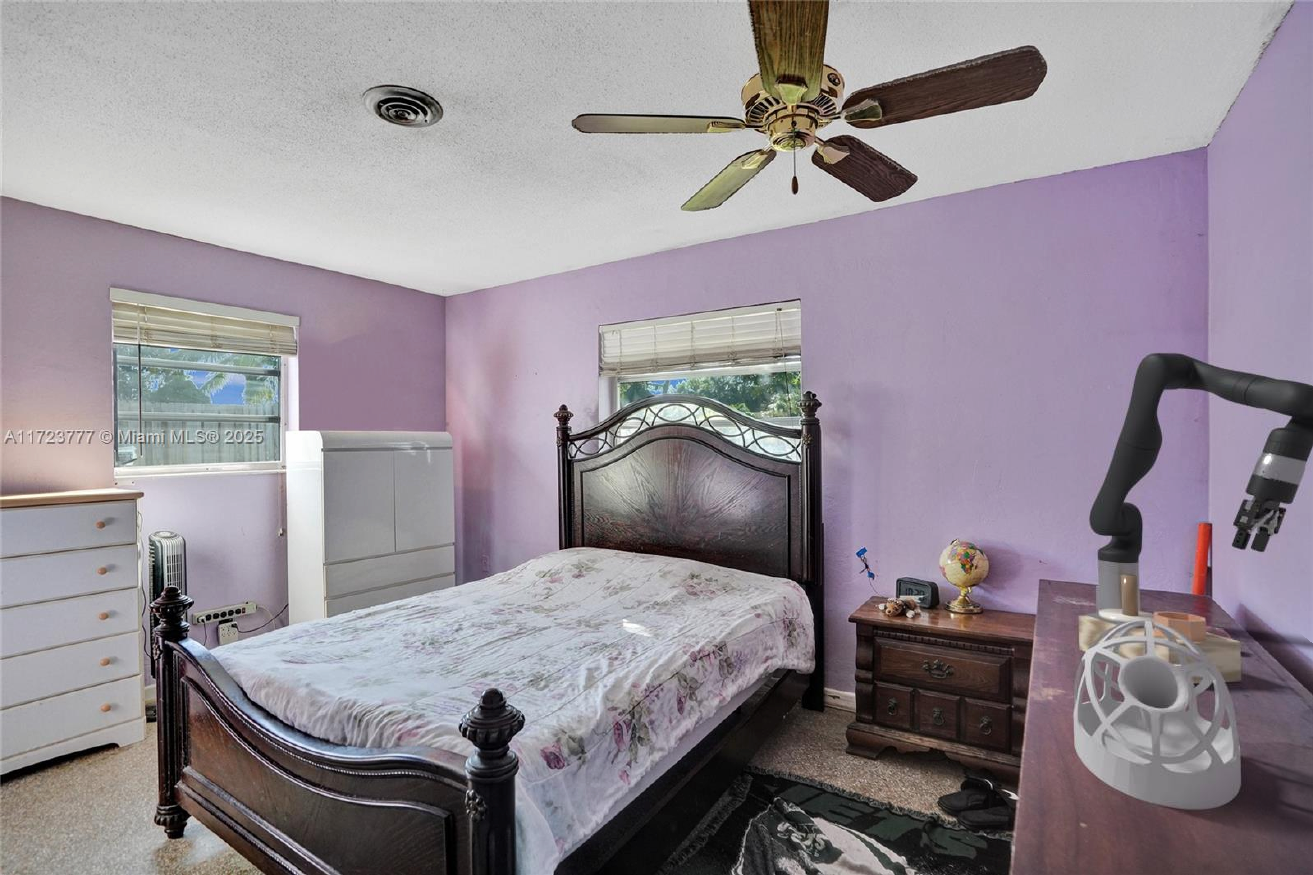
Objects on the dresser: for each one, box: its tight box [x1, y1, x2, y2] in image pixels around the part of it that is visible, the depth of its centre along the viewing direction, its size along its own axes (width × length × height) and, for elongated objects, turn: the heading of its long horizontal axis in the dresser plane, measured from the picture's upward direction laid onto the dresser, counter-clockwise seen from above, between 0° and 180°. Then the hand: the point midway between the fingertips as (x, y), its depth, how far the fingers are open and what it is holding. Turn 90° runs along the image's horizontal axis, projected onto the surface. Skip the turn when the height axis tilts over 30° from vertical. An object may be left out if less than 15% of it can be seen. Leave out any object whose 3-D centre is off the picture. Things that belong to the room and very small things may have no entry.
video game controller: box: [1206, 625, 1242, 655], centre depth 152 cm, size 10×5×7 cm, turn 84°
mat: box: [1085, 612, 1154, 628], centre depth 149 cm, size 12×12×1 cm
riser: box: [1078, 614, 1242, 684], centre depth 143 cm, size 24×16×8 cm, turn 6°
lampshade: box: [1073, 621, 1242, 810], centre depth 96 cm, size 20×26×20 cm
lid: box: [1099, 574, 1154, 626], centre depth 149 cm, size 12×12×10 cm
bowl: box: [1153, 611, 1207, 641], centre depth 136 cm, size 8×8×4 cm
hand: (1247, 549), depth 139 cm, fingers open, 8 cm apart
